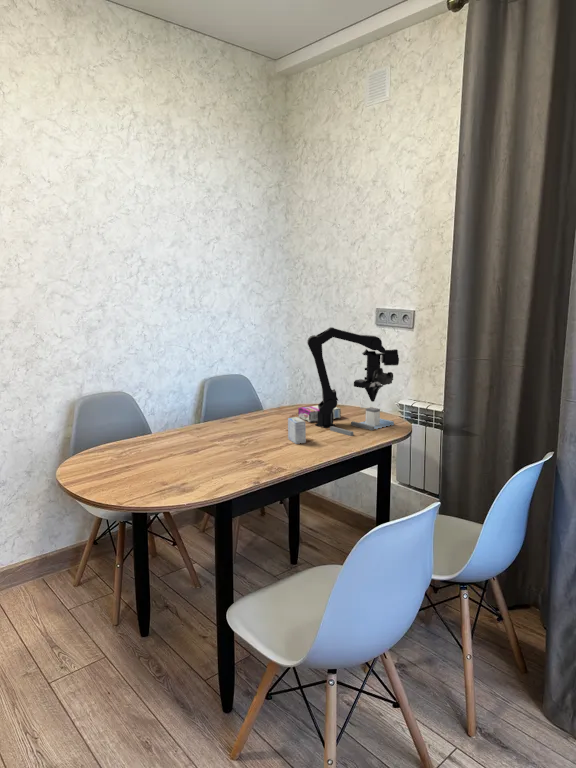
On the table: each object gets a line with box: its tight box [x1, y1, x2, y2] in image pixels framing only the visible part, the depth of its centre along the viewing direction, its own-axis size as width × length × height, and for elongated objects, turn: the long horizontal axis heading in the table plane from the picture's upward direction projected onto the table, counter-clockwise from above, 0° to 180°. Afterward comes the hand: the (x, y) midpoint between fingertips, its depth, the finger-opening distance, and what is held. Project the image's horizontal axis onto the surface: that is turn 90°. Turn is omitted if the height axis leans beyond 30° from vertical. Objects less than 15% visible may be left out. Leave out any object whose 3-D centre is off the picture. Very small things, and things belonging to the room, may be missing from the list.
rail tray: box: [329, 418, 395, 437], centre depth 226 cm, size 27×12×2 cm, turn 130°
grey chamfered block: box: [365, 406, 381, 426], centre depth 230 cm, size 4×5×7 cm
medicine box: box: [287, 416, 307, 445], centre depth 206 cm, size 8×4×9 cm, turn 22°
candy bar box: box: [297, 405, 342, 423], centre depth 243 cm, size 11×5×16 cm
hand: (372, 401), depth 228 cm, fingers closed
